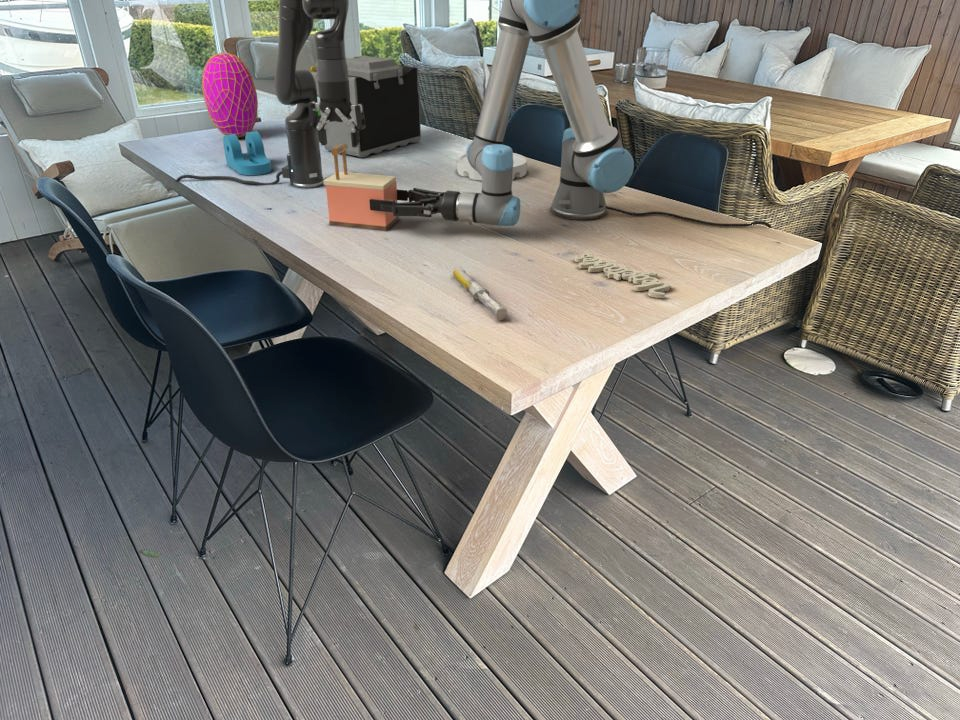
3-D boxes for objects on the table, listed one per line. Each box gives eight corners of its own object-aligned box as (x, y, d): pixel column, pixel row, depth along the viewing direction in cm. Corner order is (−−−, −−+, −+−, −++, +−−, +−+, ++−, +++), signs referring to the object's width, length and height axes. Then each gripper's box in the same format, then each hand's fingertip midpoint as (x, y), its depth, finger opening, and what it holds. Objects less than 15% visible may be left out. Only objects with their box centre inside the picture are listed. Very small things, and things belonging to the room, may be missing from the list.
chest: (329, 225, 183) (325, 185, 177) (344, 214, 190) (340, 175, 185) (386, 230, 179) (383, 190, 174) (398, 219, 187) (396, 180, 181)
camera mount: (227, 164, 233) (221, 132, 227) (257, 160, 238) (252, 129, 233) (244, 176, 220) (239, 143, 215) (276, 172, 225) (271, 139, 220)
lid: (323, 184, 177) (319, 148, 173) (338, 175, 185) (335, 140, 180) (383, 190, 174) (381, 153, 169) (396, 180, 181) (394, 145, 177)
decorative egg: (227, 145, 256) (212, 58, 241) (201, 136, 267) (185, 53, 252) (272, 137, 268) (260, 53, 253) (245, 129, 280) (233, 49, 264)
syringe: (449, 274, 155) (449, 263, 153) (465, 272, 156) (464, 260, 154) (490, 323, 135) (491, 310, 133) (508, 319, 136) (508, 307, 134)
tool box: (383, 133, 276) (378, 52, 261) (425, 141, 265) (422, 56, 250) (314, 150, 251) (304, 61, 235) (358, 160, 240) (350, 67, 224)
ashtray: (459, 161, 239) (459, 150, 237) (525, 163, 239) (526, 151, 237) (455, 180, 219) (455, 167, 217) (527, 181, 219) (528, 169, 217)
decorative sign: (686, 282, 150) (660, 295, 144) (686, 286, 150) (659, 300, 144) (592, 249, 166) (565, 259, 160) (592, 253, 167) (565, 263, 161)
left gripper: (366, 77, 169) (371, 144, 178) (313, 74, 172) (320, 141, 181) (353, 81, 163) (359, 151, 171) (299, 79, 166) (307, 147, 174)
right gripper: (447, 234, 168) (362, 226, 173) (470, 207, 187) (393, 200, 191) (446, 205, 165) (359, 197, 169) (470, 180, 183) (391, 173, 188)
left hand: (339, 145), depth 176 cm, fingers open, 8 cm apart
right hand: (377, 199), depth 180 cm, fingers closed on chest, 9 cm apart
